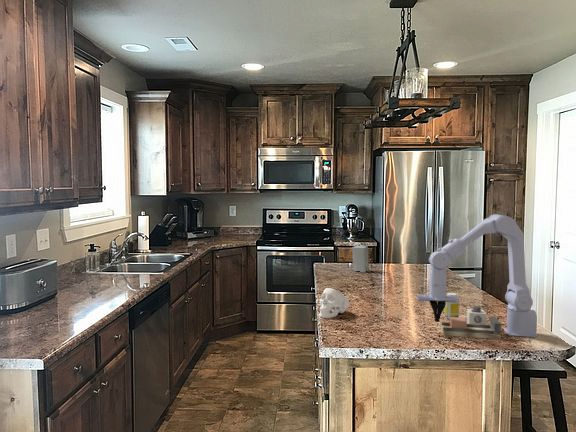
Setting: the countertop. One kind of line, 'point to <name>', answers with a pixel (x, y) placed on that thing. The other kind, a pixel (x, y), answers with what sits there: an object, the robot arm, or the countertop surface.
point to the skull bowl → (332, 303)
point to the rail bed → (475, 330)
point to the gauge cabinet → (476, 317)
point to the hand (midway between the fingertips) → (437, 321)
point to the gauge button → (477, 309)
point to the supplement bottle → (451, 308)
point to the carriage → (458, 322)
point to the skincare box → (360, 258)
